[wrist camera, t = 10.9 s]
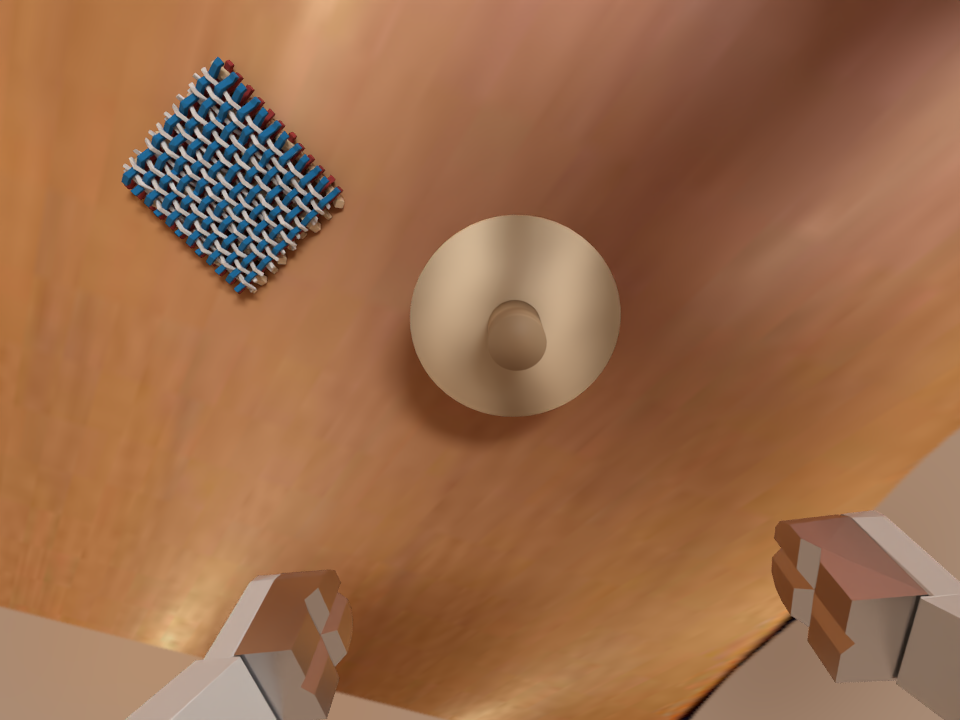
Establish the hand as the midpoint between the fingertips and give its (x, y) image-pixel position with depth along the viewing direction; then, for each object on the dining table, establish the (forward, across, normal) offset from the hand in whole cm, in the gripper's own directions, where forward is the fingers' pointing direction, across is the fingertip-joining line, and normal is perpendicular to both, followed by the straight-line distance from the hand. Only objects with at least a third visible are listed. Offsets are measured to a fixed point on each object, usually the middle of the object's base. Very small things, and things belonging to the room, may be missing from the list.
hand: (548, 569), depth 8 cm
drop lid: (+19, 0, +1) cm, 19 cm away
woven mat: (+25, +16, -9) cm, 31 cm away
